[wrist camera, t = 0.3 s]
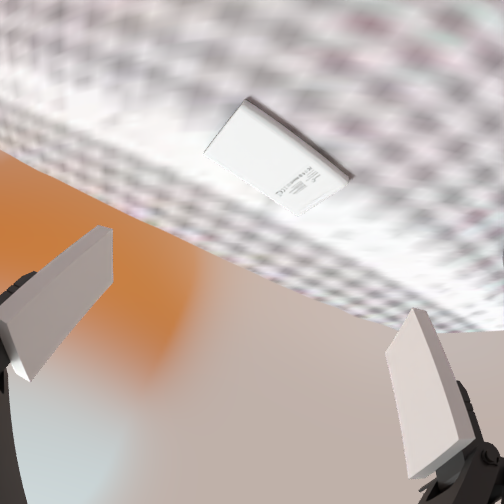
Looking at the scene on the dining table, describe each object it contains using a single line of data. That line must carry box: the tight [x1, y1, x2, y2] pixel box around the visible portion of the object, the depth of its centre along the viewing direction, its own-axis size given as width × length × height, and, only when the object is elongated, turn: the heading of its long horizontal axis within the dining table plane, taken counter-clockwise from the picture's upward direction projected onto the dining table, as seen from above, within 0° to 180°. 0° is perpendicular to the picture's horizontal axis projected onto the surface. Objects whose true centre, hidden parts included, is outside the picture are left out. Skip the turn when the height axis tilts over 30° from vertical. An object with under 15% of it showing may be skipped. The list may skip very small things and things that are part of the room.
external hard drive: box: [203, 99, 349, 216], centre depth 30 cm, size 2×8×12 cm
